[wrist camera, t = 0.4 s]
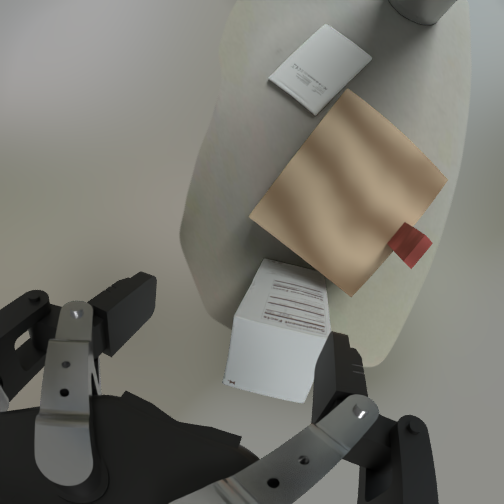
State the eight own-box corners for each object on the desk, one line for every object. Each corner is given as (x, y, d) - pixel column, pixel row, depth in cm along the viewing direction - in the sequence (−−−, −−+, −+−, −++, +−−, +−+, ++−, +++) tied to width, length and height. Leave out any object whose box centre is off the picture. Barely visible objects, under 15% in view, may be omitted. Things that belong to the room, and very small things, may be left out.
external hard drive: (370, 61, 29) (315, 117, 33) (324, 27, 28) (269, 80, 33) (372, 57, 27) (315, 114, 32) (325, 22, 27) (267, 77, 31)
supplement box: (308, 326, 42) (304, 407, 26) (251, 312, 43) (220, 387, 27) (326, 270, 38) (334, 338, 23) (262, 255, 40) (232, 315, 24)
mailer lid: (346, 89, 25) (356, 69, 18) (444, 179, 25) (474, 184, 19) (249, 215, 31) (234, 228, 25) (350, 294, 31) (358, 324, 25)
